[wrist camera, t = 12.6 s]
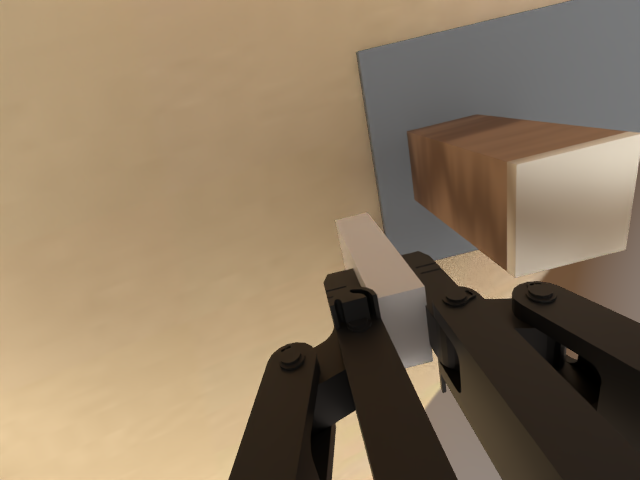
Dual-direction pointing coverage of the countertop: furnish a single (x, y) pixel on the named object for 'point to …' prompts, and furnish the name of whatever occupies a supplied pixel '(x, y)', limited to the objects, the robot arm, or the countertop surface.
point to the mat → (495, 93)
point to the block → (528, 187)
